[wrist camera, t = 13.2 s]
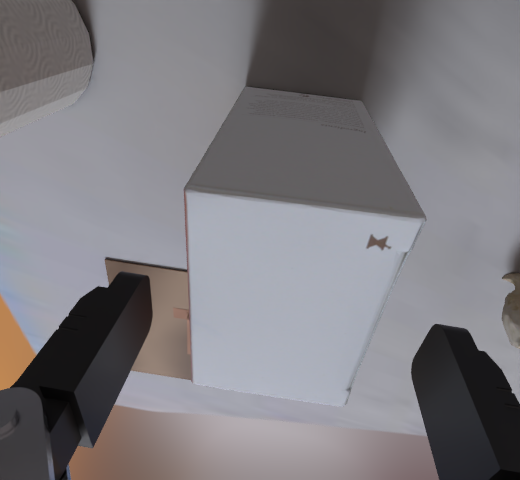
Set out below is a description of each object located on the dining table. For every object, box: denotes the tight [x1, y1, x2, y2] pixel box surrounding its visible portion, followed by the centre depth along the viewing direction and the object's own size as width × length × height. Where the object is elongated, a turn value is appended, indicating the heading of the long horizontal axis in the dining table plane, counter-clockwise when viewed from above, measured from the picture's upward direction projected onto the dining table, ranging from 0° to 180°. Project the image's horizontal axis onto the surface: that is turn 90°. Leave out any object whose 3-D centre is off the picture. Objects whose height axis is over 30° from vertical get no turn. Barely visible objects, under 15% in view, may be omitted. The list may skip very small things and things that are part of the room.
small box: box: [184, 87, 426, 407], centre depth 14 cm, size 8×6×10 cm
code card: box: [105, 259, 192, 380], centre depth 26 cm, size 14×12×1 cm
